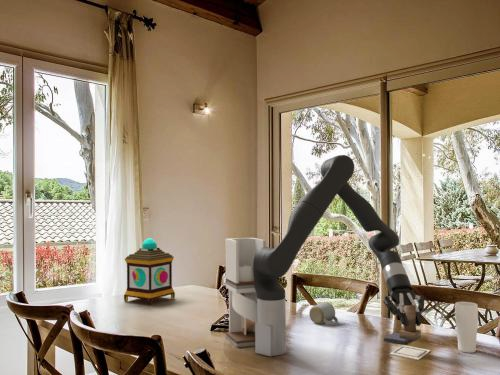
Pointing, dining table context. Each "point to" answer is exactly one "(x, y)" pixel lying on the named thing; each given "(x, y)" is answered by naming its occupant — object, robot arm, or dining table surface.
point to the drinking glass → (466, 325)
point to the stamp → (410, 324)
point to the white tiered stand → (241, 289)
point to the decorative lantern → (149, 273)
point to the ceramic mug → (323, 314)
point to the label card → (410, 352)
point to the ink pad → (396, 339)
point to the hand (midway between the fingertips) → (412, 324)
